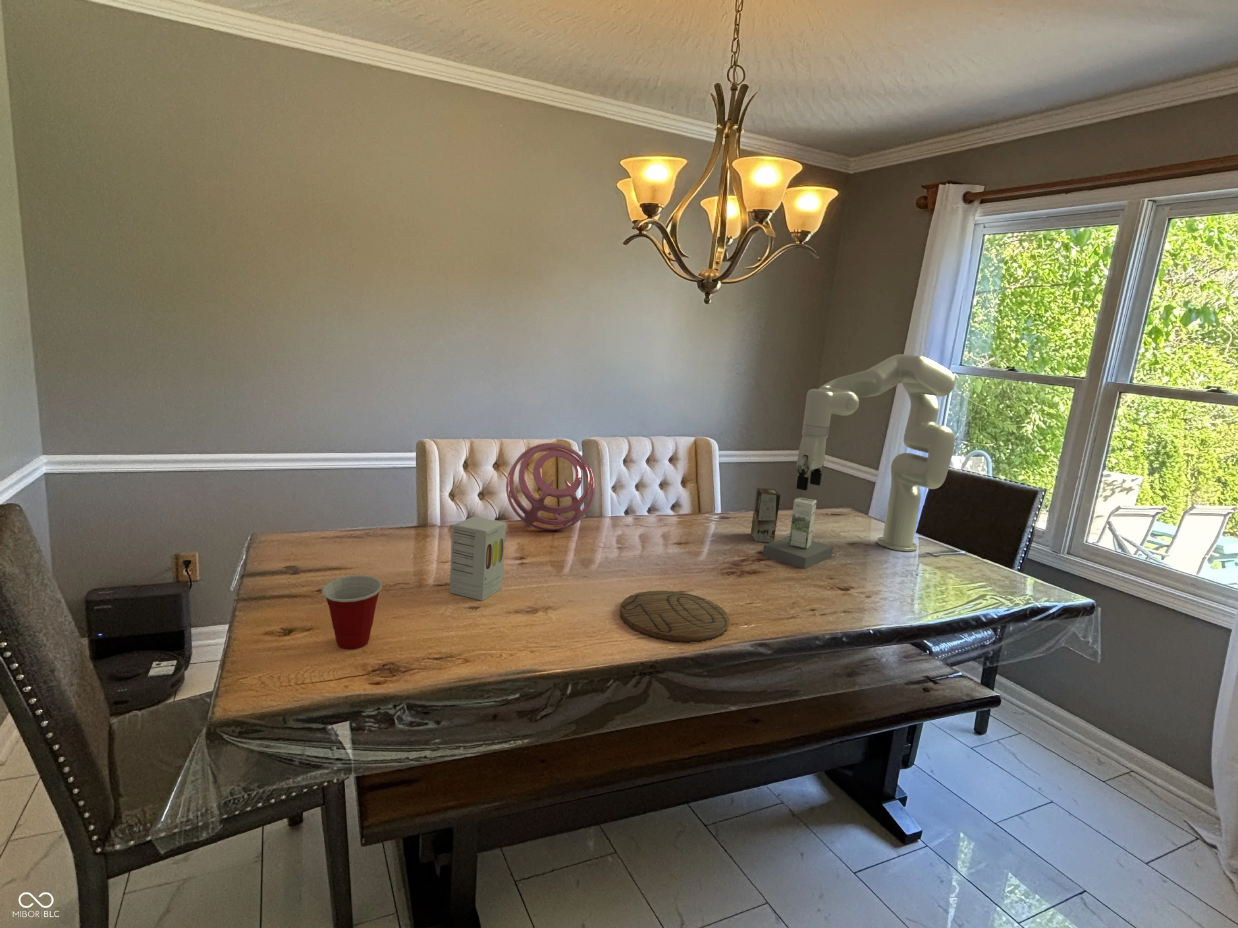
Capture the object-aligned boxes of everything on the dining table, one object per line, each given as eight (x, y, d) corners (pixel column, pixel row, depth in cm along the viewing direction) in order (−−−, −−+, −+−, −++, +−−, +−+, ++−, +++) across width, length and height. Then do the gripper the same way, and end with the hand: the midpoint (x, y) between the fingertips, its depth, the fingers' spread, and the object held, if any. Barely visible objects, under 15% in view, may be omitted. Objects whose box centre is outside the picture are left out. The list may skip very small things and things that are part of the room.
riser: (790, 546, 221) (792, 534, 220) (831, 558, 212) (833, 546, 211) (762, 557, 208) (763, 544, 207) (804, 570, 199) (806, 557, 198)
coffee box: (774, 543, 221) (781, 495, 218) (754, 541, 221) (761, 493, 218) (769, 534, 230) (775, 488, 227) (750, 533, 230) (756, 486, 227)
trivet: (648, 650, 141) (649, 641, 140) (603, 602, 163) (603, 594, 163) (749, 637, 151) (750, 629, 151) (693, 593, 173) (694, 586, 173)
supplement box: (482, 601, 157) (485, 531, 153) (448, 593, 160) (450, 524, 156) (503, 588, 166) (506, 521, 162) (470, 580, 169) (473, 515, 165)
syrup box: (811, 544, 210) (817, 499, 208) (806, 549, 205) (812, 503, 202) (792, 541, 213) (798, 496, 210) (787, 545, 208) (793, 499, 205)
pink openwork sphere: (514, 451, 232) (526, 417, 208) (591, 475, 237) (612, 445, 213) (491, 527, 220) (501, 500, 196) (573, 551, 225) (593, 527, 201)
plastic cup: (308, 647, 129) (308, 588, 127) (349, 626, 139) (350, 570, 137) (354, 661, 126) (355, 600, 123) (393, 638, 136) (394, 581, 133)
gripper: (815, 426, 211) (808, 480, 214) (791, 431, 198) (784, 488, 201) (838, 430, 206) (831, 485, 210) (816, 435, 193) (808, 494, 197)
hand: (808, 487), depth 206 cm, fingers open, 9 cm apart
